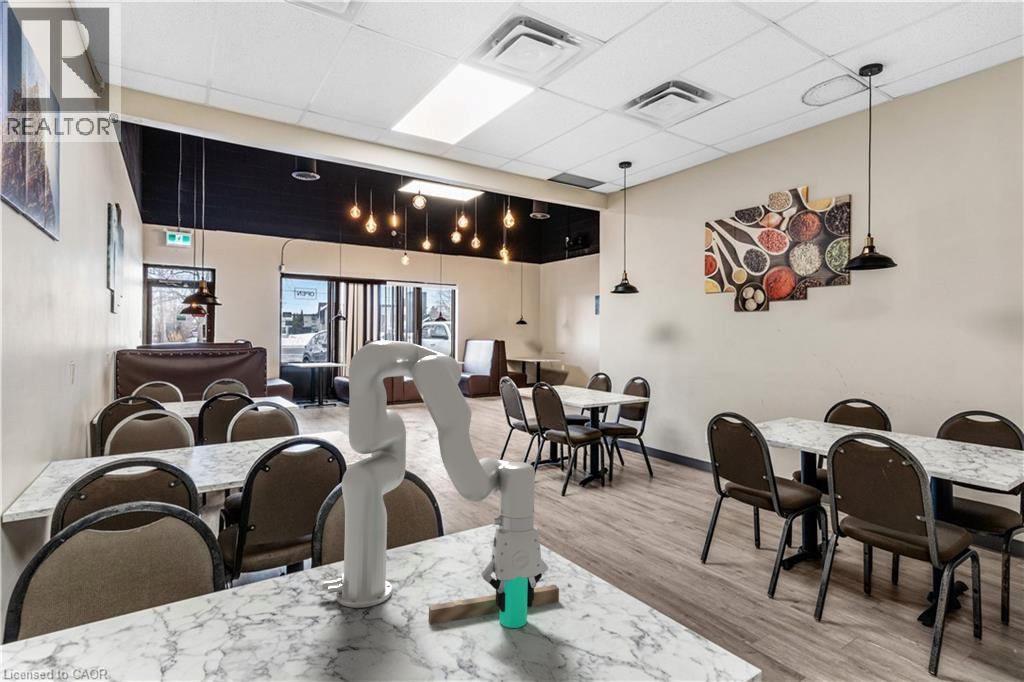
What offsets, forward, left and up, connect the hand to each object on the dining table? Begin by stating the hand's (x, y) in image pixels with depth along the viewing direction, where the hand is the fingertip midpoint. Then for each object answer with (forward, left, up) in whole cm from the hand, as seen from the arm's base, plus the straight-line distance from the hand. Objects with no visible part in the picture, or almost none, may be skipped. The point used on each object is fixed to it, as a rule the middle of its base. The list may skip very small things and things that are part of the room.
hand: (514, 605), depth 107 cm
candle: (0, 0, -3) cm, 3 cm away
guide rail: (-2, +5, -3) cm, 7 cm away
